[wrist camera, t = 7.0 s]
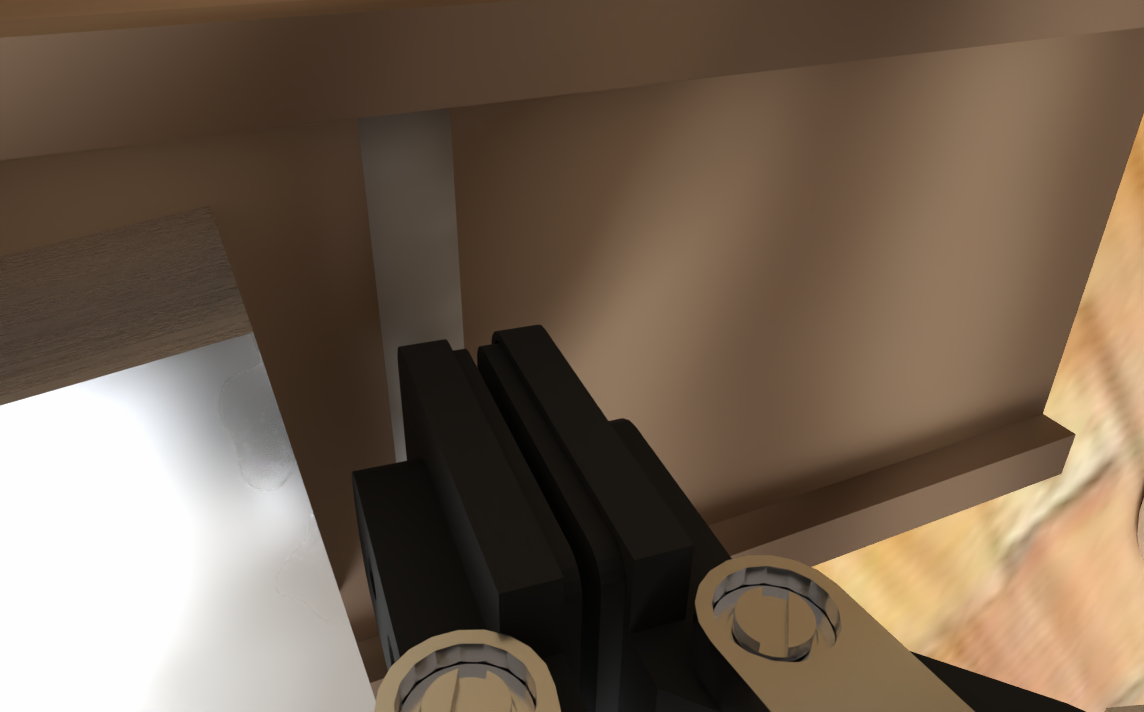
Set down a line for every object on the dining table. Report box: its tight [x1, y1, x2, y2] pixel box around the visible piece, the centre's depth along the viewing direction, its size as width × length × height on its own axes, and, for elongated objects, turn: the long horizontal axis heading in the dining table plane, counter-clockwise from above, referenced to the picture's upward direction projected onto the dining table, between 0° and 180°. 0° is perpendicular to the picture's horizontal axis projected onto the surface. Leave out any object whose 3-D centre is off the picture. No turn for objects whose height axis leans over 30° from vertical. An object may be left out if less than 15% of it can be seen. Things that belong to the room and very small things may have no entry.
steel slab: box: [0, 206, 376, 712], centre depth 9 cm, size 6×6×3 cm
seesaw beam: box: [0, 0, 1144, 700], centre depth 12 cm, size 26×10×3 cm, turn 89°
